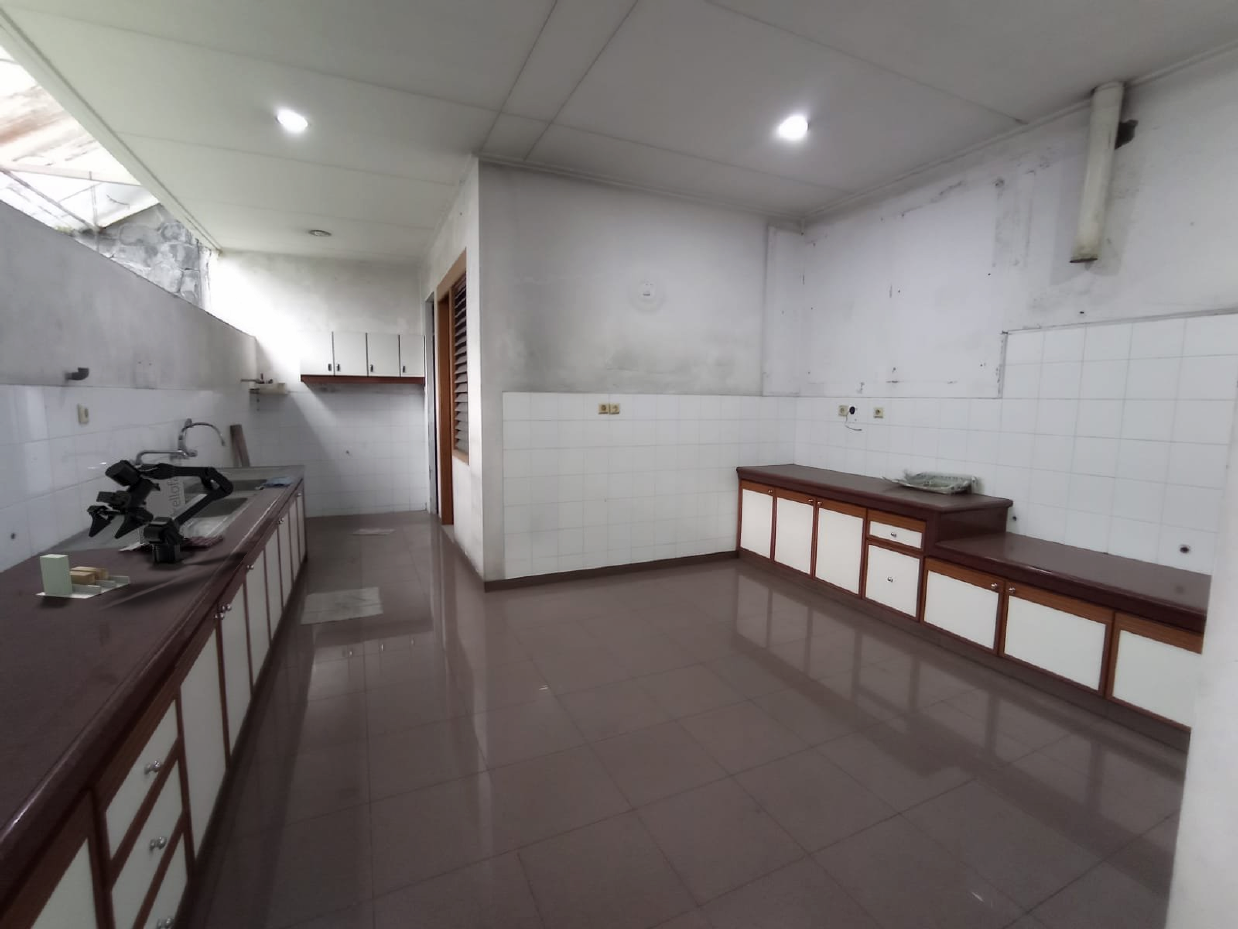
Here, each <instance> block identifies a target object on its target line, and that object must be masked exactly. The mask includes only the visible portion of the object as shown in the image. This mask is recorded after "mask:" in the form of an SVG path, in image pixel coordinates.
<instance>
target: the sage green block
mask: <svg viewBox="0 0 1238 929" xmlns="http://www.w3.org/2000/svg"><path fill="white" fill-rule="evenodd" d="M39 563H40V569H41V576H42V581H43V582H42V583H43V589H44V592H45V595H57V596H56V597H58V596H64V595H67V594H70V593H73V590H72V583H71V575H70V569H71V568H70V562H69V555H68V554H51V553H50V554H49V553H48V554H46V555H41V556H39ZM45 595H44V596H45Z"/></svg>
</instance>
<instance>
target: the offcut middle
mask: <svg viewBox="0 0 1238 929" xmlns="http://www.w3.org/2000/svg"><path fill="white" fill-rule="evenodd" d="M70 575H71V583H72V584H79V585H93V586H95V578H94V573H91V572H76V571H70Z"/></svg>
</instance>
